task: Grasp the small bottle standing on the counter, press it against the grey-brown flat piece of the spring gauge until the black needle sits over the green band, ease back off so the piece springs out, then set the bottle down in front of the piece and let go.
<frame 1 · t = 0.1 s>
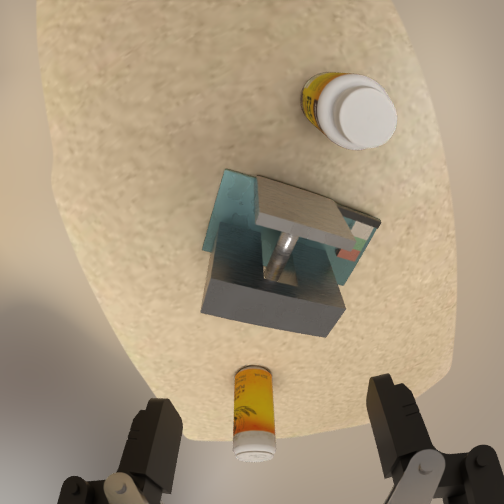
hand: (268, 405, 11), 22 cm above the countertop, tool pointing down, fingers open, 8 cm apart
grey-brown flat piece: (314, 250, 28), point 5 cm above the countertop, slide at 0.0 cm
supplement bottle: (328, 100, 24), on the countertop
gauge: (278, 226, 32), on the countertop
beer can: (253, 373, 47), on the countertop
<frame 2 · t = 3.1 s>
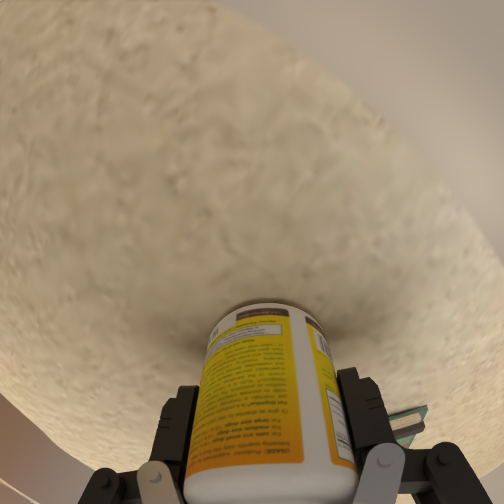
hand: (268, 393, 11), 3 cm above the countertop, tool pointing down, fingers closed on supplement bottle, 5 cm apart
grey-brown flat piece: (332, 500, 15), point 5 cm above the countertop, slide at 0.0 cm
supplement bottle: (267, 341, 14), on the countertop, touching gripper
gauge: (291, 459, 20), on the countertop
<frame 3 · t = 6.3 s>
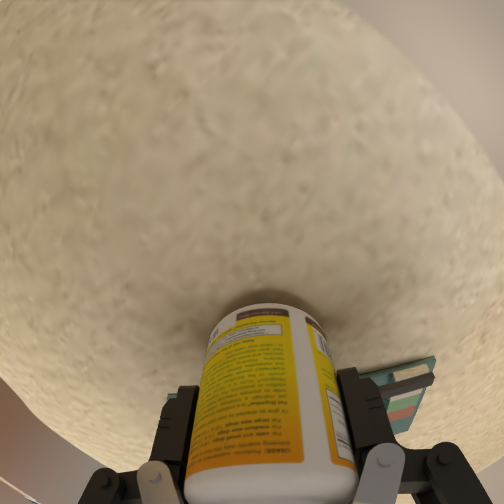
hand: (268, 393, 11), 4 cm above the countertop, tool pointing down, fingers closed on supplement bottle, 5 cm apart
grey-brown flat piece: (330, 469, 14), point 5 cm above the countertop, slide at 0.0 cm
supplement bottle: (267, 341, 14), point 1 cm above the countertop, touching gripper
gauge: (282, 424, 19), on the countertop
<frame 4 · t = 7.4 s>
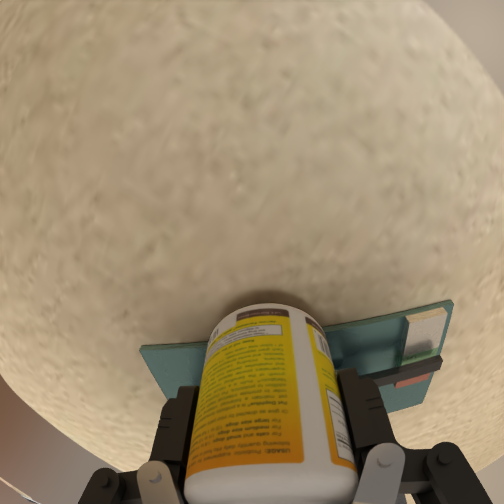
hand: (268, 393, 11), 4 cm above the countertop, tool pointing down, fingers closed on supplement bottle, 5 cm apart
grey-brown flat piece: (333, 462, 13), point 5 cm above the countertop, slide at 3.1 cm
supplement bottle: (267, 341, 14), point 1 cm above the countertop, touching gripper
gauge: (276, 388, 17), on the countertop
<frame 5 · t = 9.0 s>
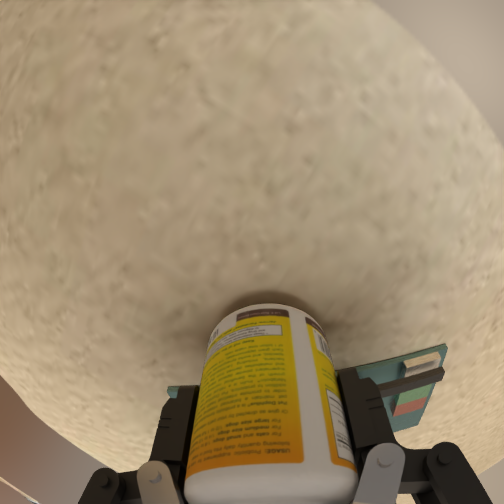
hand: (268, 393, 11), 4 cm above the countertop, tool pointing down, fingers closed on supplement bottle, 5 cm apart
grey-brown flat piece: (339, 469, 13), point 5 cm above the countertop, slide at 0.6 cm
supplement bottle: (267, 341, 14), point 1 cm above the countertop, touching gripper
gauge: (288, 418, 18), on the countertop
when the fingers open (3 cm above the countertop, at t = 10.0 s): supplement bottle stays where it is, on the countertop.
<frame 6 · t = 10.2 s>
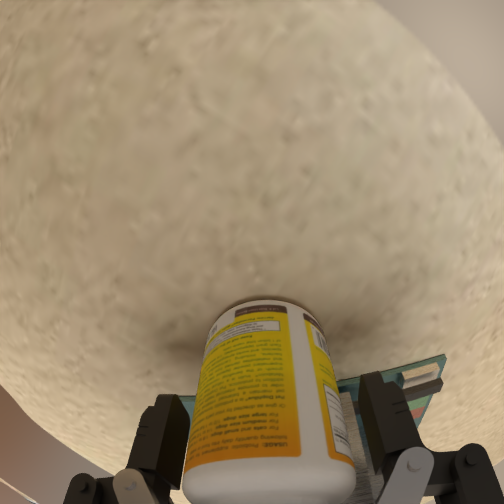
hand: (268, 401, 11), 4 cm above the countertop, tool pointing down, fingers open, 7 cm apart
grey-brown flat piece: (335, 479, 13), point 5 cm above the countertop, slide at 0.6 cm
supplement bottle: (266, 338, 14), on the countertop
gauge: (285, 427, 18), on the countertop
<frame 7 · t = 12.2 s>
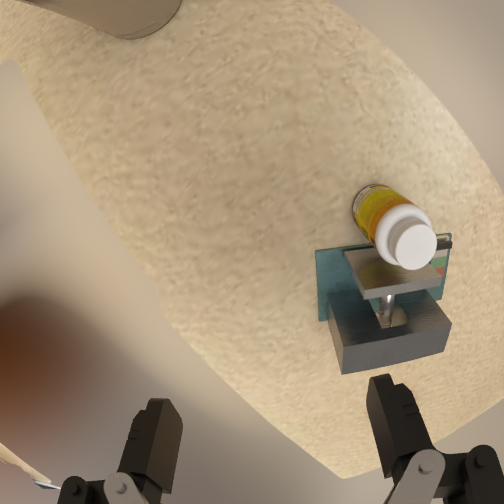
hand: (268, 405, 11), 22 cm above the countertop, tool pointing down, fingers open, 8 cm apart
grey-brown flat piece: (410, 292, 29), point 5 cm above the countertop, slide at 0.6 cm
supplement bottle: (374, 207, 30), on the countertop
gauge: (374, 277, 34), on the countertop
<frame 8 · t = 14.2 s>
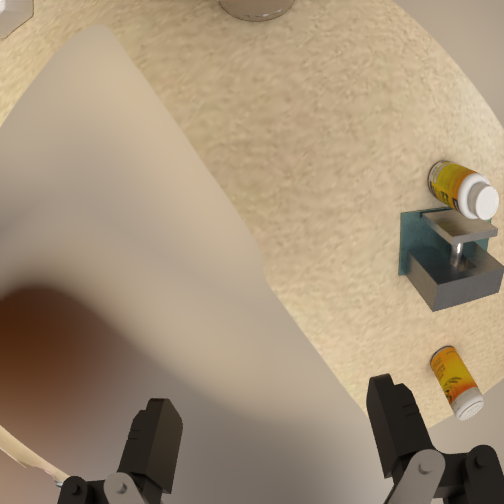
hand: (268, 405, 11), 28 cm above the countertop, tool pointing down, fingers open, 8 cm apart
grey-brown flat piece: (471, 245, 33), point 5 cm above the countertop, slide at 0.6 cm
medicine bottle: (18, 11, 22), on the countertop
supplement bottle: (442, 179, 34), on the countertop
gauge: (440, 236, 37), on the countertop
beer can: (441, 355, 49), on the countertop
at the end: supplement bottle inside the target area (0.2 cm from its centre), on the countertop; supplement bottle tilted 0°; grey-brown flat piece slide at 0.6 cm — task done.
